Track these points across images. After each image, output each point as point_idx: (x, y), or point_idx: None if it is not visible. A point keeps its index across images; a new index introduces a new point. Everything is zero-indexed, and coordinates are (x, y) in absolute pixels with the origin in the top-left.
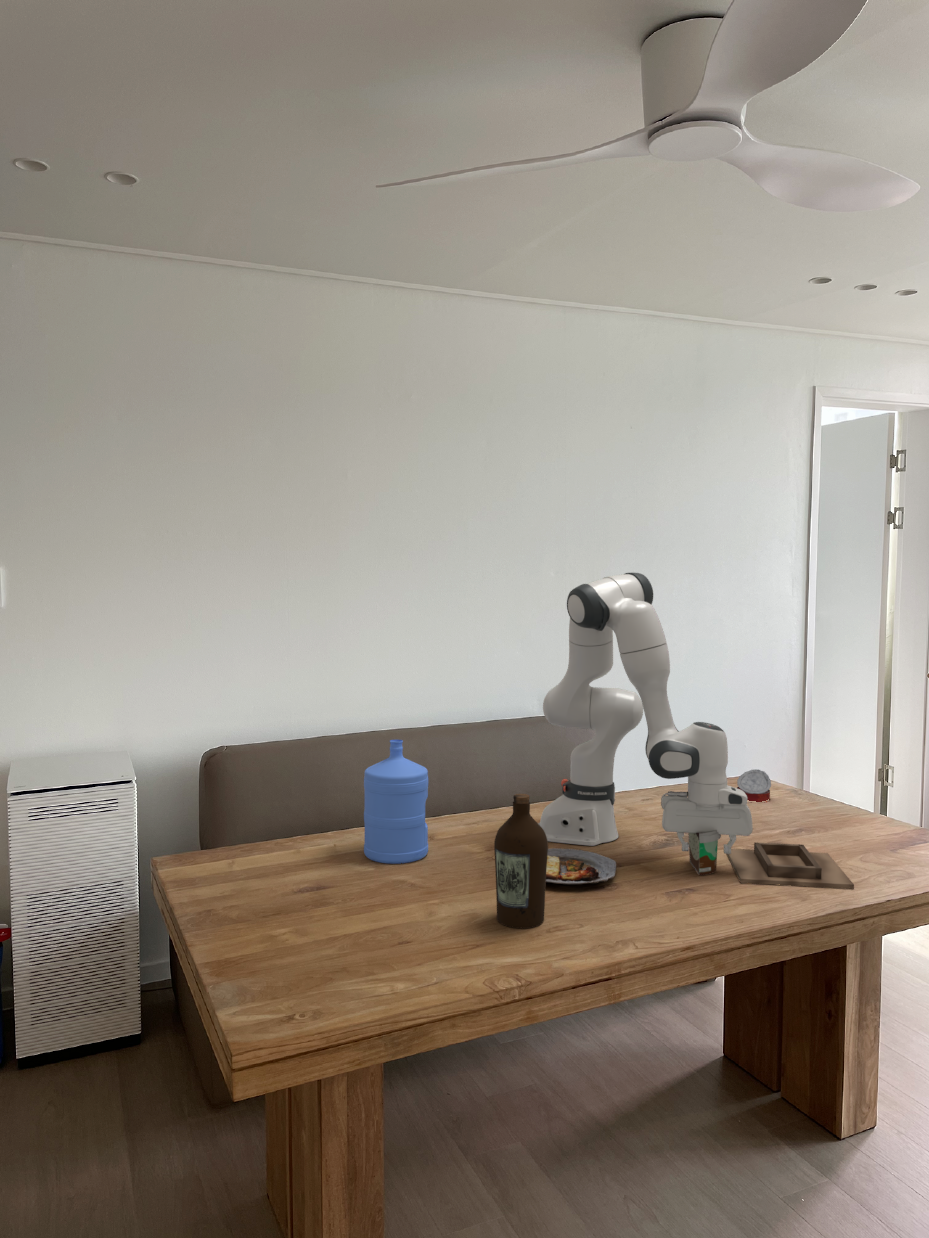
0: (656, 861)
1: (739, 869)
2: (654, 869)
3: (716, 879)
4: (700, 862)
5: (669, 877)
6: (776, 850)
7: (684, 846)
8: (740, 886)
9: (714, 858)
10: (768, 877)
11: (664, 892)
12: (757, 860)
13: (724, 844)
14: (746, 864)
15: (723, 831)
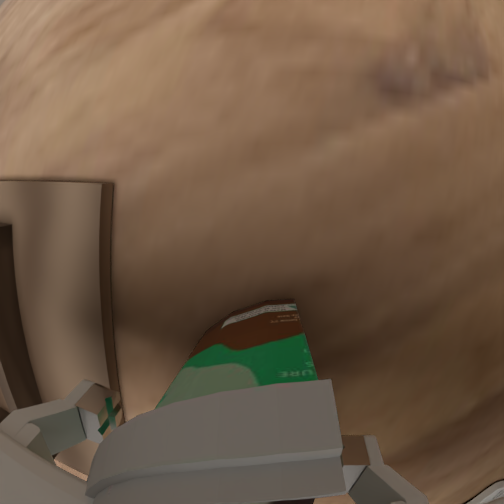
0: (410, 439)
1: (89, 319)
2: (461, 359)
3: (216, 236)
4: (292, 322)
5: (447, 263)
6: None
7: (369, 453)
8: (125, 140)
9: (185, 363)
10: (12, 216)
11: (489, 76)
12: (42, 395)
13: (100, 441)
14: (67, 370)
15: (42, 480)
